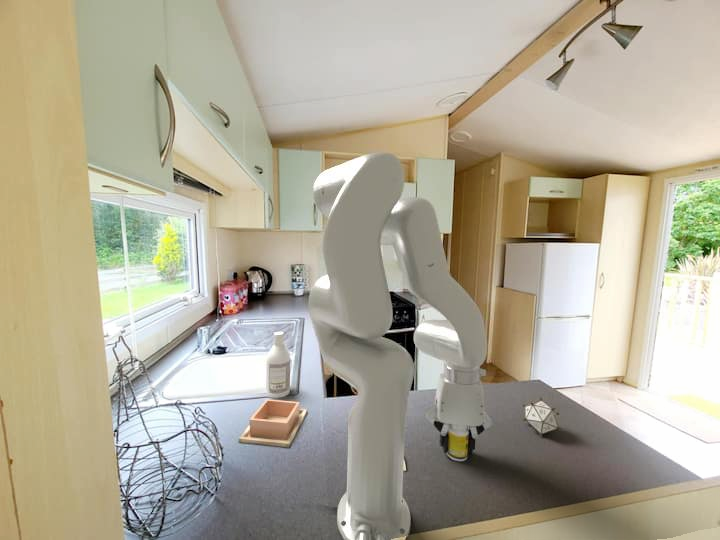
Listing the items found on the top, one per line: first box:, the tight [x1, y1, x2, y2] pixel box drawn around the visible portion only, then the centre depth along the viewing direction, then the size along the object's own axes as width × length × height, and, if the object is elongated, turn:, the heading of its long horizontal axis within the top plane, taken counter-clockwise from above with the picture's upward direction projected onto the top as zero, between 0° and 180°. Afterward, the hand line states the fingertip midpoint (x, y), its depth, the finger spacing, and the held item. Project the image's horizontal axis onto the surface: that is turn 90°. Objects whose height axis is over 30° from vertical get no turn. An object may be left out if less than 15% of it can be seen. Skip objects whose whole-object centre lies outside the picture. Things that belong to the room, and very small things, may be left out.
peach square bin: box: [249, 399, 301, 439], centre depth 71 cm, size 9×9×4 cm
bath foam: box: [266, 331, 291, 399], centre depth 87 cm, size 7×7×20 cm
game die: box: [521, 396, 563, 438], centre depth 73 cm, size 9×8×10 cm
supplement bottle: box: [446, 424, 469, 462], centre depth 64 cm, size 5×5×8 cm
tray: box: [238, 408, 308, 448], centre depth 71 cm, size 14×12×2 cm
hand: (456, 449), depth 64 cm, fingers closed on supplement bottle, 4 cm apart
